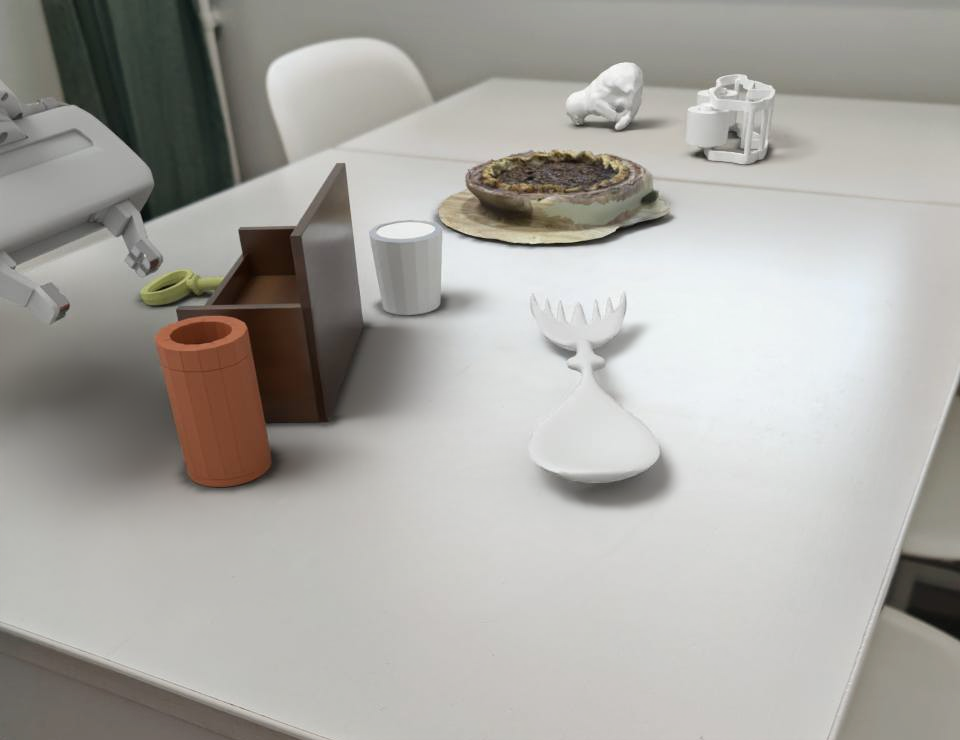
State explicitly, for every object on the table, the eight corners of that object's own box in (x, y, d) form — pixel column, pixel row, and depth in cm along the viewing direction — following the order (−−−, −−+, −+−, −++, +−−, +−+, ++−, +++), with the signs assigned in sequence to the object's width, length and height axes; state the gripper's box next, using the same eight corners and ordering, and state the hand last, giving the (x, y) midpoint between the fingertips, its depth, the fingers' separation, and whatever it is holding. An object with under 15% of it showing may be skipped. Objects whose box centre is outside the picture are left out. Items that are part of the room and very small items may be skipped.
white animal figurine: (637, 65, 145) (557, 72, 149) (639, 130, 150) (562, 135, 154) (646, 57, 149) (568, 65, 153) (647, 120, 154) (572, 126, 158)
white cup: (362, 304, 97) (353, 230, 93) (418, 287, 101) (412, 214, 96) (404, 323, 93) (397, 246, 89) (461, 304, 96) (457, 229, 92)
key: (263, 298, 100) (259, 276, 98) (138, 308, 99) (132, 286, 98) (267, 274, 105) (263, 253, 104) (149, 283, 104) (143, 263, 103)
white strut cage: (697, 129, 150) (702, 73, 146) (773, 131, 147) (780, 74, 143) (679, 162, 135) (684, 101, 131) (763, 165, 133) (771, 103, 128)
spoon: (626, 323, 91) (628, 285, 89) (665, 505, 66) (669, 458, 64) (527, 326, 91) (527, 288, 89) (528, 507, 66) (528, 460, 64)
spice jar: (177, 487, 70) (142, 350, 64) (200, 447, 75) (169, 316, 69) (261, 487, 70) (234, 349, 64) (279, 446, 75) (255, 314, 68)
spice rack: (201, 423, 78) (159, 238, 69) (257, 326, 94) (229, 165, 85) (327, 421, 78) (301, 235, 69) (363, 324, 93) (345, 162, 84)
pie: (532, 262, 105) (532, 212, 102) (394, 208, 123) (390, 165, 120) (719, 209, 118) (724, 163, 115) (569, 167, 135) (569, 127, 132)
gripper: (49, 126, 74) (185, 272, 77) (-195, 201, 60) (-17, 377, 63) (78, 59, 70) (221, 216, 73) (-178, 122, 56) (12, 314, 58)
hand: (109, 291), depth 68 cm, fingers open, 8 cm apart
